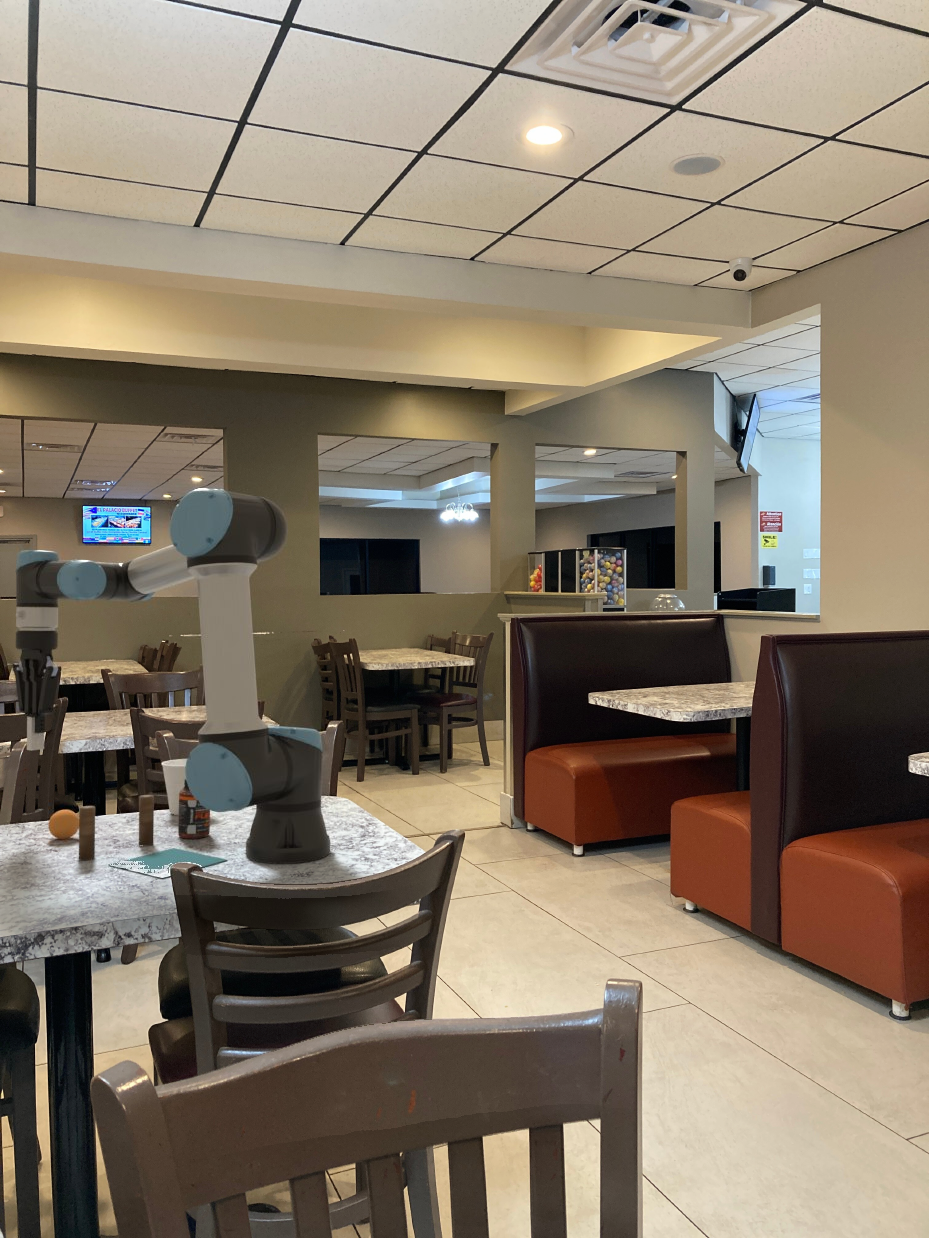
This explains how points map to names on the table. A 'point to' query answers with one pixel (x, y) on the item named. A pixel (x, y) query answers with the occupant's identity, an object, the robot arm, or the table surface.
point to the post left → (86, 832)
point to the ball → (64, 824)
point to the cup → (174, 781)
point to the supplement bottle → (192, 816)
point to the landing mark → (173, 859)
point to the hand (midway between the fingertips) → (35, 749)
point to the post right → (146, 820)
